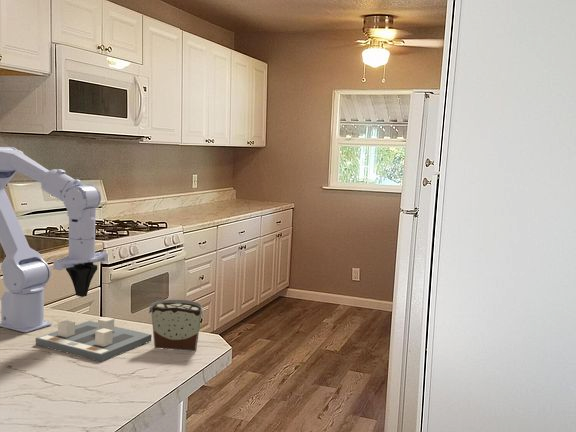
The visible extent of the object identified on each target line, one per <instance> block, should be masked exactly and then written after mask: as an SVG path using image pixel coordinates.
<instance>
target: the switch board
mask: <svg viewBox="0 0 576 432" xmlns="http://www.w3.org/2000/svg"><path fill="white" fill-rule="evenodd" d="M97 330H98V321H97V322H96V321H93V320H88V321H85V322H81V323H79V324H78V323H77V324H75V335H72V336H69V337H62V336H58V330H56V331H53V332H51V333H48V334H44V335H41V336H37V337H35V345H36V346H40V347H44V348H47V347H49V348H48V349H50V348H52V349H51V350H54V349H56V350H55V351H58V350H61V351H60V352H62V351H64V352H63V353H66V352H68V353H67V354H70V353H71V354H70V355H73V354H74V355H73V356H77V355H78V356H79V357H81V356H82V358H86V359H90V360H92V361H93V360H94V361H97V362H102V363H103V362H104V361H106V360H109V359H111V358H114V357H116V356H118V354H119V355H120V353H121V354H123V353H122V352H124V353H125V351H126V352H128V351H130V349H131V350H132V348H133V349H135V347H136V348H138V347H140V346H143V345H145V344H147V343H146V342H148V343H150V342H152V337H153V336H152V335H153V334H151V333H145V332H140V331H137V330H133V329H129V328H128V329H127V328H123V327H118V326H115V325H114V332H113V334H112V344H110V345H107V346H105V347H103V346H99V345H95V331H97ZM149 341H150V342H149ZM144 343H145V344H144ZM142 344H143V345H142ZM139 345H140V346H139ZM137 346H138V347H137ZM127 350H128V351H127ZM115 355H116V356H115ZM78 356H77V357H78ZM113 356H114V357H113Z"/></svg>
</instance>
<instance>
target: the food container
mask: <svg viewBox="0 0 576 432" xmlns="http://www.w3.org/2000/svg"><path fill="white" fill-rule="evenodd" d="M150 313H151V322H152V333H153V334H152V335H153V336H152V337H153V347H154V349H156V348H163V349H162V350H168V349H173V350H172V351H181V350H182V352H183V351H184V352H194V353H195V352H196V351H197V349H198V341H199V333H200V326H201V318H204V317H205V311H204V308H203V305H202V304H201V303H199V302H197V301H194V300H187V299H163V300H158V301H155V302H153V303H151V304H150V306H149V310H148V314H150Z"/></svg>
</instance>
